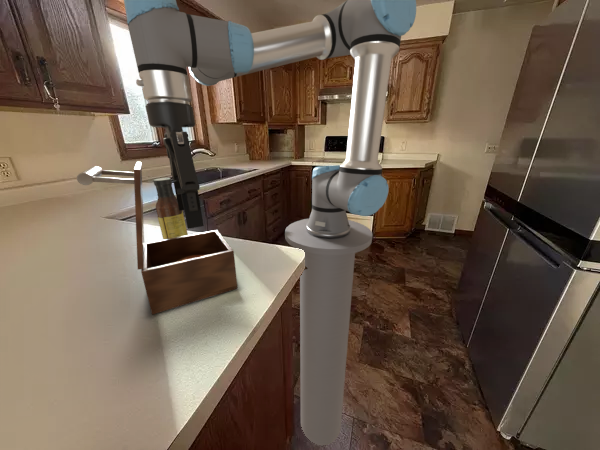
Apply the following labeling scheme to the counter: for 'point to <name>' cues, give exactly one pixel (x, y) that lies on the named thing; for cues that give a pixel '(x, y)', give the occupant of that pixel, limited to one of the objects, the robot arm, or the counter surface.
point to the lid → (94, 176)
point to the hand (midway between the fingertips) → (190, 217)
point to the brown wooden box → (187, 269)
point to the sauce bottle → (169, 210)
